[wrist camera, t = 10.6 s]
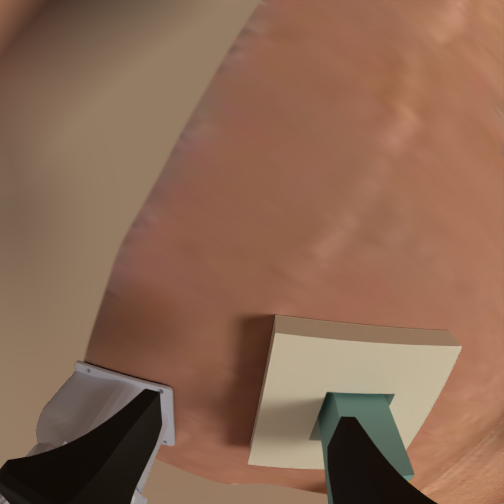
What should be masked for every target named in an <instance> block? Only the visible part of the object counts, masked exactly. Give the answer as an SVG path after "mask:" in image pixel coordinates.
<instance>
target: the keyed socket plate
mask: <svg viewBox="0 0 504 504" xmlns="http://www.w3.org/2000/svg"><path fill="white" fill-rule="evenodd" d="M461 348H462V345H461V344H460V343H459V342H458V341H457V340H456V338H455V337H454V336H453V335H452V334H451V333H450V332H449V331H448V330H430V329H414V328H400V327H387V326H375V325H364V324H353V323H343V322H334V321H325V320H316V319H307V318H299V317H291V316H283V315H276V314H275V319H274V325H273V330H272V336H271V341H270V347H269V352H268V357H267V363H266V368H265V373H264V378H263V383H262V388H261V393H260V398H259V403H258V408H257V413H256V418H255V423H254V427H253V432H252V437H251V442H250V448H249V457H248V464H250V465H259V466H269V467H282V468H298V469H325V468H324V460H323V451H322V443H321V435H320V428H319V420H317V417H318V414H319V412H320V409H321V406H322V404H323V401H324V398H325V395H326V392H338V393H364V394H384V396H385V398H386V401H387V403H388V406H389V408H390V411H391V413H392V416H393V418H394V421H395V423H396V426H397V428H398V431H399V434H400V436H401V439H402V441H403V444H404V447H405V449H407V448H408V446H409V445H410V443H411V442H412V440H413V438H414V437H415V435H416V434H417V432H418V431H419V429H420V427H421V426H422V424H423V422H424V421H425V419H426V417H427V416H428V414H429V412H430V410H431V409H432V407H433V405H434V403H435V401H436V400H437V398H438V396H439V394H440V392H441V390H442V388H443V386H444V384H445V383H446V381H447V379H448V376H449V374H450V372H451V370H452V368H453V366H454V364H455V362H456V360H457V357H458V355H459V353H460V351H461Z"/></svg>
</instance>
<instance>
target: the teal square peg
mask: <svg viewBox="0 0 504 504" xmlns="http://www.w3.org/2000/svg"><path fill="white" fill-rule="evenodd" d="M341 416H346V417H356V418H357V420H358V421H359V423H360V424H361V425H362V427H363V428H364V430H365V431H366V433H367V434H368V435H369V437H370V438H371V440H372V441H373V442H374V444H375V445H376V446H377V448H378V449H379V450H380V452H381V453H382V454H383V455H384V457H385V458H386V459H387V460H388V462H389V463H390V464H391V465H392V466H393V467H394V468H395V469H396V471H397V472H398V473H399V474H400V475H401V476H402V477H404V478H405V479H406V480H407V481H408V482H409V481H410V479H411V478H412V477H413V476H414V475H415V474H414V472H413V469H412V466H411V463H410V460H409V458H408V455H407V452H406V449H405V447H404V444H403V441H402V439H401V436H400V434H399V431H398V428H397V426H396V423H395V421H394V418H393V416H392V413H391V411H390V408H389V406H388V403H387V401H386V398H385V396H384V394H364V393H338V392H326V395H325V398H324V401H323V404H322V406H321V409H320V412H319V414H318V420H319V428H320V435H321V443H322V451H323V460H324V468H325V477H326V486H327V496H328V504H333V499H332V493H331V486H330V480H329V474H328V463H327V446H328V444H329V442H330V440H331V438H332V436H333V434H334V431H335V429H336V427H337V425H338V422H339V420H340V418H341Z"/></svg>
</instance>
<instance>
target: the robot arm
mask: <svg viewBox="0 0 504 504" xmlns="http://www.w3.org/2000/svg"><path fill="white" fill-rule="evenodd" d="M75 369H76V371H75V372H74V373H73V375H72V376H71V377H70V378H69V379H68V380H67V381H66V383H65V384H64V385H63V386H62V387H61V388H60V389H59V391H58V392H57V393H56V394H55V395H54V396H53V398H52V399H51V400H50V401H49V402H48V403H47V405H46V406H45V407H44V409H43V411H42V412H41V415H40V417H39V420H38V424H37V429H36V435H37V442H38V444H36V445H35V446H34V447H33V448H32V450H31V451H30V452H29V453H28V454H27V455H26V456H25V457H23V458H17V459H11V460H8V461H7V462H6V463H5V464H4V465H3V466H2V467H1V469H0V504H147V502H148V499H146V498H145V497H143V496H142V495H141V493H142V491H143V488H144V485H145V483H146V480H147V478H148V475H149V473H150V470H151V468H152V465H153V463H154V460H155V457H156V455H157V452H158V450H159V447H160V445H161V444H165V445H169V446H173V445H174V444H175V429H174V404H173V390H172V388H170V387H169V386H165V385H161V384H157V383H153V382H149V381H145V380H141V379H137V378H134V377H130V376H126V375H123V374H119V373H116V372H113V371H109V370H106V369H103V368H100V367H96V366H93V365H90V364H87V363H84V362H81V361H77V362H76V363H75ZM160 389H161V390H162V391H161V390H160ZM327 463H328V474H329V480H330V486H331V493H332V499H333V504H437V503H436V502H434V501H433V500H431V499H430V498H428V497H427V496H425V495H424V494H423V493H421V492H420V491H419V490H417V489H416V488H415V487H414V486H412V485H411V484H410V483H409V482H408V481H407V480H406V479H405V478H404V477H402V476H401V475H400V474H399V473H398V472H397V471H396V469H395V468H394V467H393V466H392V465H391V464H390V463H389V462H388V460H387V459H386V458H385V457H384V455H383V454H382V453H381V452H380V450H379V449H378V448H377V446H376V445H375V444H374V442H373V441H372V440H371V438H370V437H369V435H368V434H367V433H366V431H365V430H364V428H363V427H362V425H361V424H360V423H359V421H358V420H357V418H356V417H346V416H341V418H340V420H339V422H338V425H337V427H336V429H335V431H334V434H333V436H332V438H331V440H330V442H329V444H328V446H327Z"/></svg>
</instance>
